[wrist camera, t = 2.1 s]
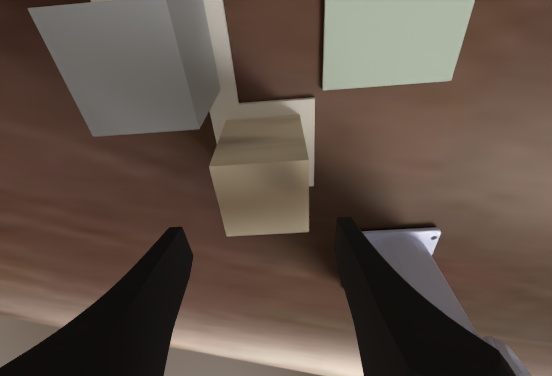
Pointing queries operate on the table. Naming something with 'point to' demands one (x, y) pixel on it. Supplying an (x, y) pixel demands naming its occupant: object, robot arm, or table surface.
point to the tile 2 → (271, 109)
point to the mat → (391, 41)
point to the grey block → (133, 62)
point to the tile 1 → (219, 52)
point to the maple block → (262, 176)
